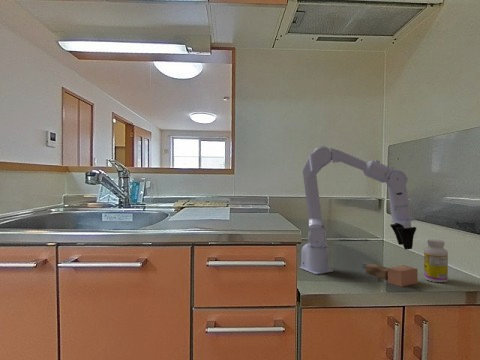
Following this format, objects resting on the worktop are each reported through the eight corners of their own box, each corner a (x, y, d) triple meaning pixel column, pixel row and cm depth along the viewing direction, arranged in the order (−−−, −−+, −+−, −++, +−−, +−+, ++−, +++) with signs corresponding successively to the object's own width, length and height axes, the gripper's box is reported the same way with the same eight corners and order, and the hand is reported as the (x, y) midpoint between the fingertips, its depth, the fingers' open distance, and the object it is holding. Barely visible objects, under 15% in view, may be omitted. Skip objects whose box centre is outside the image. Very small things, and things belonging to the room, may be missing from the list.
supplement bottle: (426, 275, 112) (426, 237, 112) (449, 279, 108) (449, 240, 108) (422, 280, 107) (422, 240, 107) (446, 284, 103) (446, 243, 103)
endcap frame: (349, 269, 120) (349, 257, 120) (364, 266, 123) (364, 254, 123) (401, 286, 101) (401, 272, 101) (417, 283, 104) (417, 268, 104)
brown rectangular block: (365, 274, 115) (365, 265, 115) (373, 272, 117) (373, 263, 117) (385, 280, 108) (385, 271, 108) (393, 278, 110) (393, 269, 110)
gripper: (419, 206, 102) (425, 250, 102) (406, 203, 117) (412, 241, 116) (394, 208, 104) (400, 252, 104) (385, 205, 118) (390, 243, 118)
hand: (405, 246), depth 110 cm, fingers open, 7 cm apart
